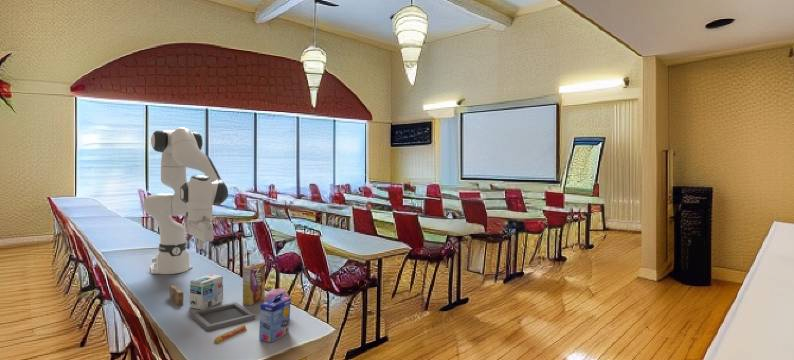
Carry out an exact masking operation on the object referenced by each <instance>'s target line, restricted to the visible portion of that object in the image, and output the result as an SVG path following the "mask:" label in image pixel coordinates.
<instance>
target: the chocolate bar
mask: <svg viewBox="0 0 794 360" xmlns="http://www.w3.org/2000/svg"><path fill="white" fill-rule="evenodd" d="M247 330H248V329H247V327H246V324H242V325H240V326H239V327H236V328H233V329H232V330H229V331H227V332H225V333H222V334H220V335H218V336H216V337H215V339H214V341H213V343H215V344H218V345H219V344H221V343H222V342H225V341H227V340H229V339H231V338H233V337H235V336H237V335H239V334H242V333H244V332H246V331H247Z"/></svg>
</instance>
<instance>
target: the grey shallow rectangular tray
mask: <svg viewBox="0 0 794 360" xmlns="http://www.w3.org/2000/svg"><path fill="white" fill-rule="evenodd" d="M256 315H257V314H255V313H253V312H252V311H251V310H249V309H248V308H246V307H244V306H243V305H241V304H240V303H238V302H237V301H235V302H231V303H227V304H223V305H218V306H211V307H208V308H206V309H203V310H201V309H197V310H195V311H190V317H191V318H192V319H193V320H194V321H195V322H197V323H198V325H200V326H201V327H203V328H204V330H206V332H209V331H213V330H217V329H221V328H225V327H229V326H234V325H237V324H240V323H245V322H249V321H253V320H256V318H257V317H256Z"/></svg>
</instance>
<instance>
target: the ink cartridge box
mask: <svg viewBox="0 0 794 360" xmlns="http://www.w3.org/2000/svg"><path fill="white" fill-rule="evenodd" d="M282 295H283V293H281V294H279V295H277V296H276V297H274V298H272V299H270V300H267V301H265V302H262V303H260V308H259V309H260V311H259V312H260V314H259V330H258V331H259V333H258V340H261V341H265V342H267V343H270V344H271V343H273V342H275V341H277V340H278V339H280V338H282V337H283V336H285V335H287V334H289V331H290V320H291V319H290V318H291V317H290V314H291V303H292V302H291V299H292V298H291V297H289V298H288V297H284V296H282ZM286 333H287V334H286Z"/></svg>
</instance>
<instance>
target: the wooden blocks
mask: <svg viewBox="0 0 794 360" xmlns="http://www.w3.org/2000/svg"><path fill="white" fill-rule="evenodd" d="M223 296H224V284H223V285H222V298H223ZM169 298H170V299H171V300H172V301H173V302H174V303H176V305H177V306H183V305H184V291H182V290H181V289H180V288H178V287H177V285H174V284H171V285H169Z"/></svg>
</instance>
